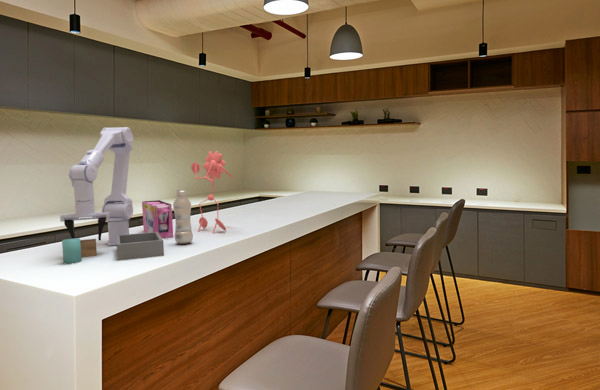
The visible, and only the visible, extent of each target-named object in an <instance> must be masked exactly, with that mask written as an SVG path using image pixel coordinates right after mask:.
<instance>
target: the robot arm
mask: <svg viewBox="0 0 600 390" xmlns="http://www.w3.org/2000/svg"><path fill="white" fill-rule="evenodd" d="M99 137H100V139H99V140H98V141H97V143H96V145H95V147H94V149H90V150H86V153H85V155H84V156H83V157H82V159H81V160H80V161H79V162H78V164H74V165H73V166H71V167H70V168H69V169H70V170H69V172H68V178H69V180H70V181H71V186H72V188H73V191H74V192H73V193H74V195H73V196H74V208H75V209H74V210H75V213H72V214H71V213H70V214H69V213H68V214H61V215H60V216H59V217H60V218H59V219H60V221H59V222H62V223H63V224H64V226H65V228H66V229H67V231H68V233H69V235H70V239H72V238H76V235H75V233H76V232H75V221H86V220H87V221H88V220H97V227H98V228H97V229H98V230H97V231H98V234H97V235H98V237H97V238H98V241H102V232H103V230H104V226H105V224H106V222H107V228H108V229H107V231H108V233H107V234H108V240H107V246H111V247H112V246H117V240H116V235H126V234H130V227H129V221H130V220H131V218H132V216H133V214H134V207H133V200H132V199H131V198H130V197H129V196H128V195H127V187H128V176H129V164H130V158H131V157H130V155H131V151H132V150H133V146H134V145H133V143H134V134H133V132H132V130H131V128H130V127H128V126H124V127H120V126H119V127H105V126H104V127H103V128H102V130H101V131H100V132H99ZM108 151H111V152H113V154H114V163H113V173H112V181H111V192H110V194H109V195H108V196H107V197H105V198H104V201H103V202H104V203H103V205H102V206H101V212H95V210H96V209H95V194H94V193H95V192H94V191H95V190H94V181H95V180H96V179H97V175H98V169H99V168H100V167H101V165H102V164H103V163H104V161H105V158H104V155H105V154H106V152H108Z"/></svg>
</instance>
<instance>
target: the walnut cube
mask: <svg viewBox="0 0 600 390" xmlns="http://www.w3.org/2000/svg"><path fill="white" fill-rule="evenodd" d="M80 244H81V258H85V257H86V258H87V257H97V239H96V238H90V239H89V238H88V239H80Z"/></svg>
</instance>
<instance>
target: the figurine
mask: <svg viewBox="0 0 600 390" xmlns="http://www.w3.org/2000/svg"><path fill="white" fill-rule="evenodd" d="M222 158H223V153H219V151H218V150H216V151H215V152H214V153H212V151H210V150H209V151H208V153H207V156H206V157H205V162H204V164H202V166H203V169H204V170H206V172H205V173H206V175H205V176H201V177H198V173H199V172H200V169H201V168H200V164H199V163H198V162H196V161H194V162H193V163H192V164H191V168H190V169H191V170H192V172H193V174H194V175H195V180H200V179H202V180H203V179H205V180H208V181H209V182H211V183H212V188H211V189H212V190H211V192H210V193H211V194H208V195H207V198H206V199H205V200H203V201H201V202H199V203H198V205H199V209H200V214H201V216H200V218H199V220H198V224H199V227H198V230H197V232H200V231H201V230H200V229H201V227H202V229H204V230H205V229H206V228H208V225H209V223H208V219H206V217H204V215H203V212H202V211H203V210H202V207H201V204H202V203H203V204H204V203H205V202H206V201H214V202H215V203H216V204H217V205H219V203H218V202H217V201H216V199H215V195H213V192H214V188H215V182H214V181H215V180H216V178H217V179H219V180H220V178H221V175H222V174H223V173H226V174H227V175H228V176H229V177H230V178H232V179H233V180H234V179H235V178H234V176H233V175H232V174H231V173H230V172H229V171H228V170H227V169H226V168H224V167H225V166H226V161H225V160H223V159H222ZM208 176H209V177H208ZM216 212H217V218H215V219H214V221H215V224H214V226H213V231H212V234H214V233H215V231H216V228H217V225H218V227H219V228H221V229H222V230H224V231H225V232H226V231H227V228H229V229H231V227H230V226H227V227H226V226H225V225H224V223H223V222H222V221H221V220H220V219H219V208H217V211H216ZM232 229H233V230H234V229H235V228H234V227H232ZM225 232H223V233H222V235H223V234H226V233H225Z"/></svg>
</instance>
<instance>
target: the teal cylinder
mask: <svg viewBox="0 0 600 390" xmlns="http://www.w3.org/2000/svg"><path fill="white" fill-rule="evenodd" d="M80 240H81V238H76V237H75V238H67V239H62V240H61V243H62V244H61V245H62V246H61V247H62V259H63V260H62V261H63V262H62V263H63V264H64V263H66V264H67V265H72V263H73V264H78V263H80V262H82V259H83V258H82V257H81V244H80Z"/></svg>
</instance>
